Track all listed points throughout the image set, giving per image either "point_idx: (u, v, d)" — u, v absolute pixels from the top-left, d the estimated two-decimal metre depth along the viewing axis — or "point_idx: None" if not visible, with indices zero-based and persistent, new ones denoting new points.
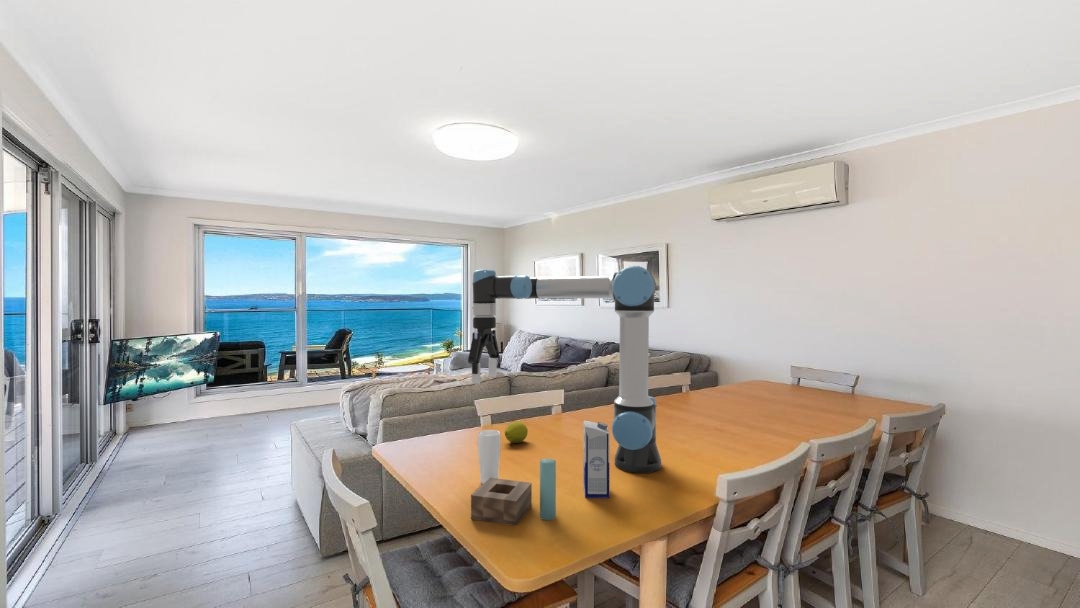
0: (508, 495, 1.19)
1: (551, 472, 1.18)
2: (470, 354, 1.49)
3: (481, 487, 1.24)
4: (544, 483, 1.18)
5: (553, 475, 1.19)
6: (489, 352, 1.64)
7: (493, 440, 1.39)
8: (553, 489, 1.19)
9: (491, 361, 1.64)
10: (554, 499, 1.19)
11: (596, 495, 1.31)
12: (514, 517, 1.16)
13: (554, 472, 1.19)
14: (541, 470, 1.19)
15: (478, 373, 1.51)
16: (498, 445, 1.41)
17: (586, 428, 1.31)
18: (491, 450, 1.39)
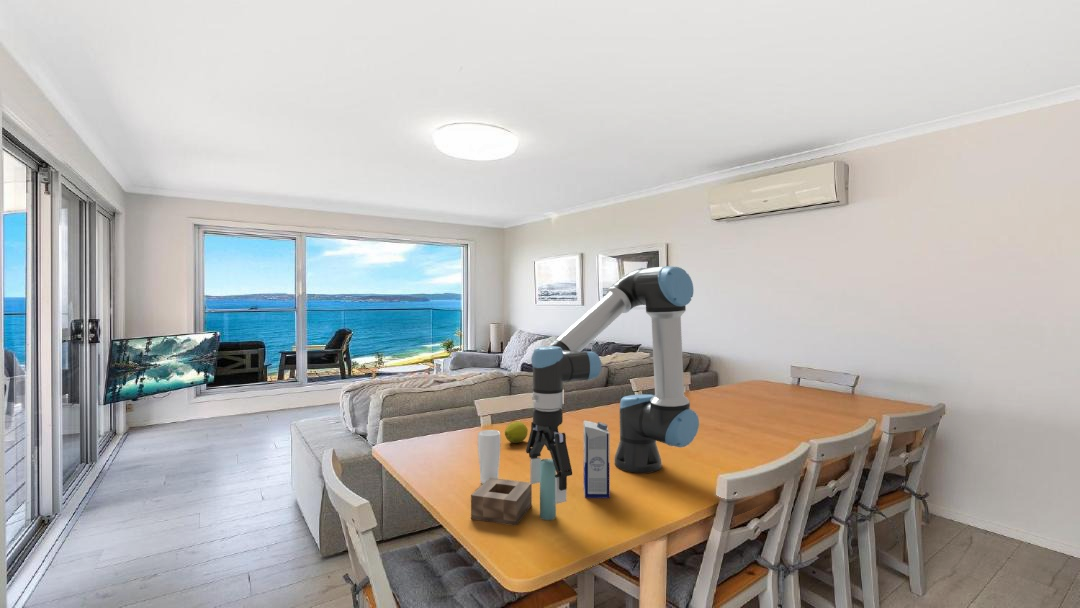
0: (508, 495, 1.19)
1: (551, 472, 1.18)
2: (563, 466, 1.12)
3: (481, 487, 1.24)
4: (544, 483, 1.18)
5: (553, 475, 1.19)
6: (535, 451, 1.25)
7: (493, 440, 1.39)
8: (553, 489, 1.19)
9: (535, 463, 1.26)
10: (554, 499, 1.19)
11: (596, 495, 1.31)
12: (514, 517, 1.16)
13: (554, 472, 1.19)
14: (541, 470, 1.19)
15: None
16: (498, 445, 1.41)
17: (586, 428, 1.31)
18: (491, 450, 1.39)
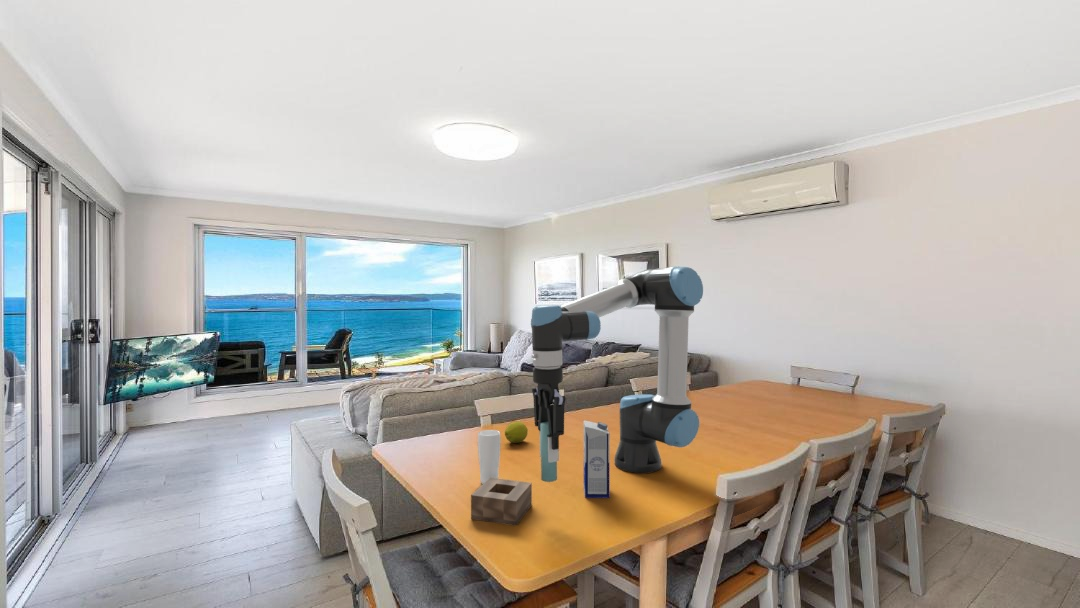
0: (508, 495, 1.19)
1: None
2: (557, 427, 1.15)
3: (481, 487, 1.24)
4: (545, 445, 1.18)
5: None
6: (542, 420, 1.22)
7: (493, 440, 1.39)
8: None
9: None
10: None
11: (596, 495, 1.31)
12: (514, 517, 1.16)
13: None
14: (542, 432, 1.19)
15: None
16: (498, 445, 1.41)
17: (586, 428, 1.31)
18: (491, 450, 1.39)
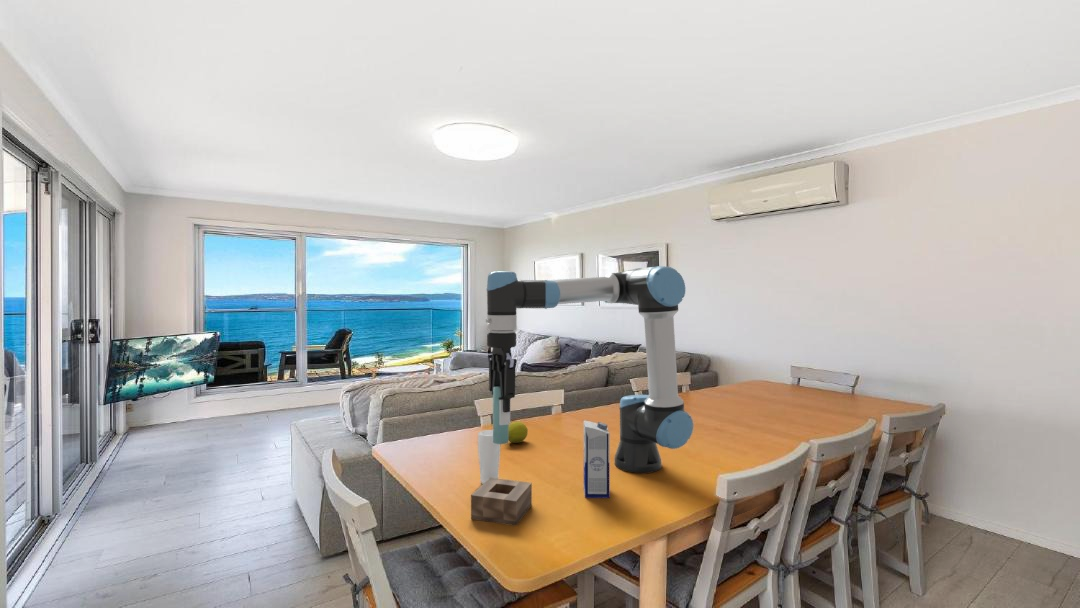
0: (508, 495, 1.19)
1: None
2: (507, 389, 1.17)
3: (481, 487, 1.24)
4: (497, 408, 1.21)
5: None
6: (496, 385, 1.24)
7: None
8: None
9: None
10: None
11: (596, 495, 1.31)
12: (514, 517, 1.16)
13: None
14: (494, 395, 1.21)
15: None
16: (498, 445, 1.41)
17: (586, 428, 1.31)
18: (491, 450, 1.39)
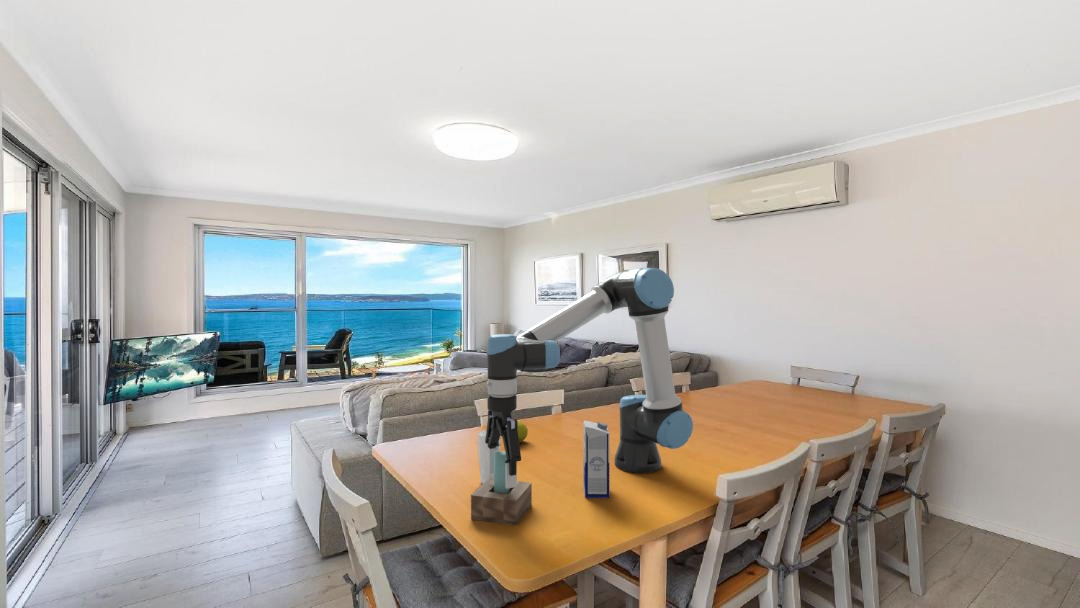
0: (508, 495, 1.19)
1: (504, 464, 1.21)
2: (512, 452, 1.15)
3: (481, 487, 1.24)
4: (498, 475, 1.21)
5: None
6: (492, 440, 1.27)
7: None
8: None
9: (493, 452, 1.27)
10: (507, 491, 1.22)
11: (596, 495, 1.31)
12: (514, 517, 1.16)
13: None
14: (495, 462, 1.22)
15: (515, 473, 1.18)
16: None
17: (586, 428, 1.31)
18: None
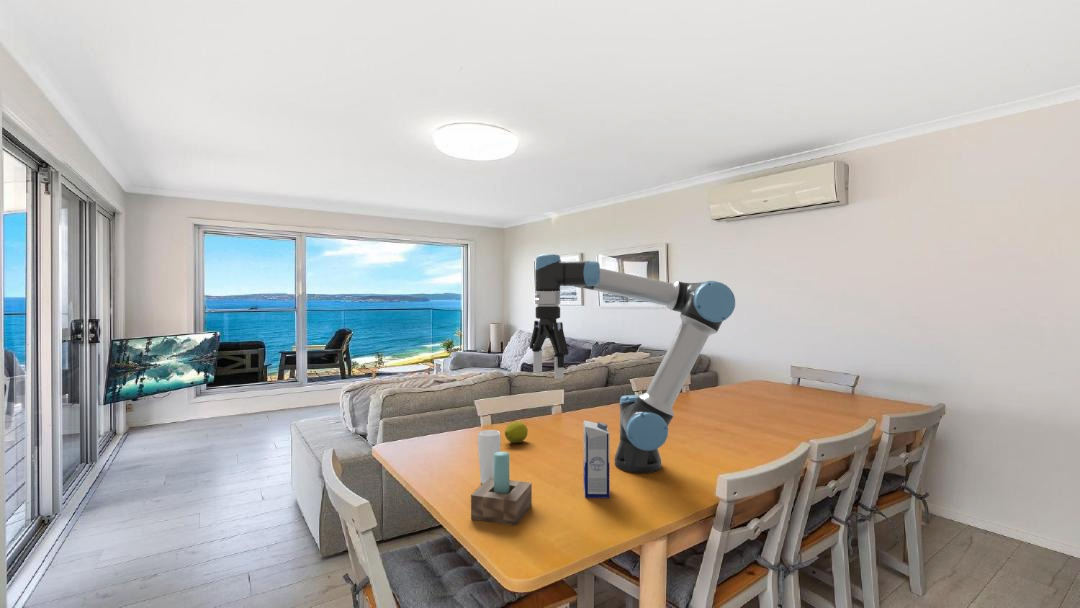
0: (508, 495, 1.19)
1: (504, 465, 1.21)
2: (561, 346, 1.36)
3: (481, 487, 1.24)
4: (498, 475, 1.21)
5: (506, 467, 1.21)
6: (537, 345, 1.50)
7: (493, 440, 1.39)
8: (506, 481, 1.21)
9: (537, 355, 1.50)
10: (507, 491, 1.22)
11: (596, 495, 1.31)
12: (514, 517, 1.16)
13: (507, 464, 1.22)
14: (495, 462, 1.21)
15: None
16: (498, 445, 1.41)
17: (586, 428, 1.31)
18: (491, 450, 1.39)
